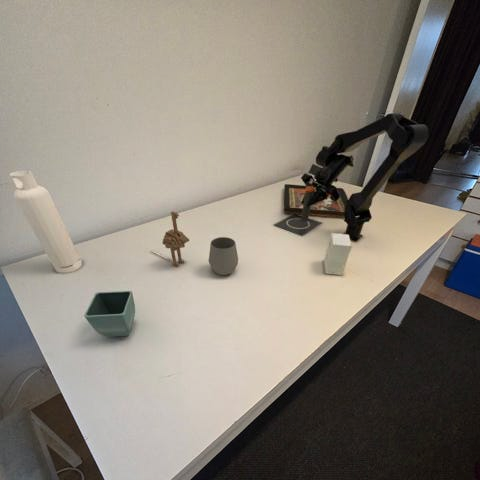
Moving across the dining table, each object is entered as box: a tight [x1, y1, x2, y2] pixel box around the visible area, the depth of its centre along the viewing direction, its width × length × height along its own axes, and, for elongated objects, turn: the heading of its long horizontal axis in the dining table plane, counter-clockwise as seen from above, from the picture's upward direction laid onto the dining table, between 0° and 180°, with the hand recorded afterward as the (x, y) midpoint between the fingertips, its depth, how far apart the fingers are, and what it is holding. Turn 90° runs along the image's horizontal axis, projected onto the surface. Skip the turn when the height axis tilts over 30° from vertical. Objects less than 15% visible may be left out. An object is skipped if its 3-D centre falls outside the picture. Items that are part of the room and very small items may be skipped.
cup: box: [208, 236, 239, 276], centre depth 83 cm, size 10×9×10 cm
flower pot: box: [83, 290, 136, 338], centre depth 64 cm, size 9×9×9 cm
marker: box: [300, 186, 314, 222], centre depth 105 cm, size 3×3×13 cm
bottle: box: [9, 169, 83, 274], centre depth 77 cm, size 8×8×28 cm
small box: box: [323, 232, 352, 276], centre depth 85 cm, size 8×6×10 cm
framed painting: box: [283, 183, 349, 219], centre depth 129 cm, size 38×35×3 cm
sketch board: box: [273, 214, 322, 237], centre depth 112 cm, size 16×14×1 cm
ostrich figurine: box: [151, 211, 190, 268], centre depth 85 cm, size 17×7×18 cm, turn 54°
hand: (304, 204), depth 104 cm, fingers closed on marker, 3 cm apart
